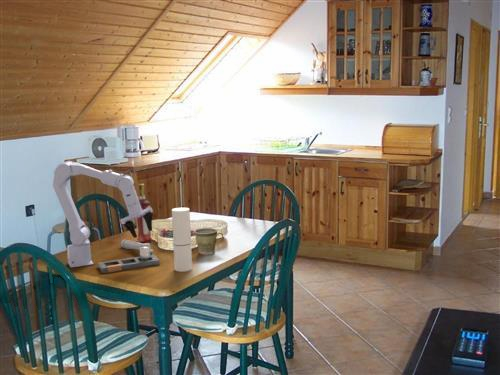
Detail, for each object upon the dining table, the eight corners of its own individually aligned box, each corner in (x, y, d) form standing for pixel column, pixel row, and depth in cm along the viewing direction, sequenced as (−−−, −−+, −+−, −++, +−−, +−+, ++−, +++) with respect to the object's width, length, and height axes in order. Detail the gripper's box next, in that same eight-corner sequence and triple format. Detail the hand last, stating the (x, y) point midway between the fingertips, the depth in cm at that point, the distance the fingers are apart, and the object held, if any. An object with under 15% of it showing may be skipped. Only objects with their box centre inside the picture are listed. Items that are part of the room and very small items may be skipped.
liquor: (143, 239, 303) (139, 182, 298) (155, 240, 300) (152, 183, 295) (133, 242, 297) (130, 185, 292) (146, 244, 294) (143, 186, 289)
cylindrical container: (192, 265, 258) (190, 207, 254) (191, 271, 251) (188, 210, 247) (175, 266, 258) (172, 207, 254) (173, 271, 251) (170, 211, 247)
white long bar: (128, 237, 292) (154, 240, 272) (129, 251, 292) (156, 255, 272) (118, 240, 288) (143, 243, 269) (119, 254, 289) (145, 258, 269)
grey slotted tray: (102, 273, 251) (102, 268, 251) (98, 267, 260) (97, 262, 259) (159, 264, 261) (159, 259, 261) (153, 259, 269) (153, 254, 269)
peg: (141, 265, 261) (140, 249, 259) (139, 263, 264) (138, 247, 263) (151, 264, 262) (150, 248, 261) (148, 261, 266) (147, 245, 265)
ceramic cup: (192, 254, 274) (191, 232, 273) (200, 248, 284) (199, 227, 282) (219, 256, 270) (219, 234, 269) (227, 250, 280) (226, 228, 278)
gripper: (121, 209, 254) (132, 240, 256) (151, 197, 262) (161, 227, 264) (114, 209, 259) (125, 240, 262) (144, 198, 267) (154, 227, 270)
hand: (143, 233), depth 263 cm, fingers open, 7 cm apart
